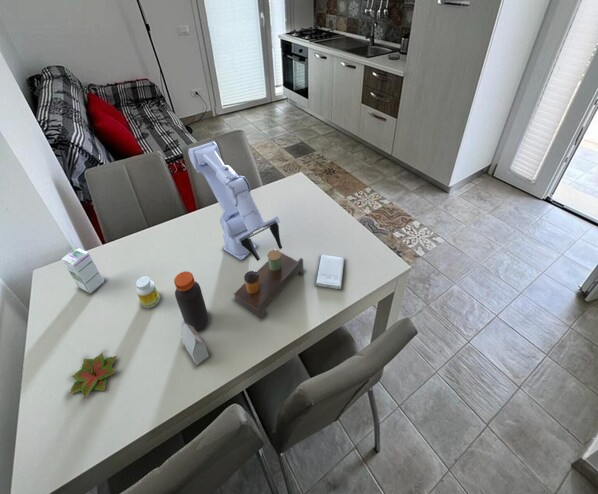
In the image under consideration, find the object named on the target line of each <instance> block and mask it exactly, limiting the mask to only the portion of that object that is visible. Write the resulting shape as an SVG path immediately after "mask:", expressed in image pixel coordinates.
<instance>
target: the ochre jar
mask: <svg viewBox="0 0 598 494" xmlns="http://www.w3.org/2000/svg"><path fill="white" fill-rule="evenodd" d="M243 280H244V284H246V290H247V292H248V293H250V294H254V293H257V292H258V291H259V290H260V282H259V274H258V273H257V271H255V270H249V271H247V272H246V273H245V274H244V276H243Z"/></svg>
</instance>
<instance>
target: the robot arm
mask: <svg viewBox="0 0 598 494" xmlns="http://www.w3.org/2000/svg"><path fill="white" fill-rule="evenodd" d="M220 152H221V151H220V148H219V146H218V144H217V142H215V141H214V140H213V141H210V142H208V143H204V144H201V145H198V146H195V147H192V148H191V147H190V148H189V149H188V152H187V154H188V157H189V160H190V162H191V165H192V167H193V168H194V170H195V171H196V173H197V174H202V175H203V177H204V178H205V180H206V182H207V183H208V186H209V187H210V189H211V191H212V193H213V195H214V196H215V198H216V200H217V202H218V204H219V206H220V208H221V210H222V214H221V216H220V218H219V223H220V225H221V228H222V231H223V242H224V247H223V251H226V252H227V253H228V254H230V255H232V256H234V257H235V258H237V259H239V260H240V261H243V260H244V259H245V258H246V257H248V255H249V254H251V256H252V257H254V259H255V260H256V262H259V261H260V260H261V258H260V255H259V254H258V252H257V250H256V248H257V246H256V245H255V244H254V243H253V241H252V239H251V238H252V237H254V236H256V235H258V234H260V233H262V232H264V231H266V230H267V229H269V231H270V232H271V234H272V236H273V238H274V239H275V242H276V244H277V247H278V248H279V250H281V249H283V245H282V241H281V238H280V227H279V223H281V220H280V217H279V216H275V217H273V218H272V219H269V220H267V221H266V222H265V220H264V218H263V216H262V214H261V212H260V210H259V208H258V206H257V204H256V201H255V200H254V198H253V196H252V194H251V186H250V185H251V184H250V183H249V180H248V179H247V178H246V177H245V175H244V176H243V175H241V174H240V175H238V173H237V172H236V171H235V170H234V169H233V168H232V166H230V165H228V164H225V163H224V161H223V160H222V159H221V156H220V155H221V153H220Z"/></svg>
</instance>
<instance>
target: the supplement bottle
mask: <svg viewBox="0 0 598 494" xmlns="http://www.w3.org/2000/svg"><path fill="white" fill-rule="evenodd" d="M135 286H136V288H135V292H136V295H137V297H138V299H139V301H140V303H141V305H142V307H144V308H147V309H148V308H153V307H155V306H156V305H157V304H158V303H159V301H160V294H159V291H158V289H157V287H156V284H155V282H154V281H153V280H151V279H150V277H149V276H142V277H139V278H138V279H137V280H136V282H135Z"/></svg>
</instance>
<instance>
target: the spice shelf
mask: <svg viewBox="0 0 598 494" xmlns="http://www.w3.org/2000/svg"><path fill="white" fill-rule="evenodd" d="M281 264H282V266H281V268H280V269H279V270H278V271H272V270H270V269H269V264H268V260H267V261H266V262H265V263H263V265H262V266H261V267H260V268H258V270H257V271H256V272H257V273H258V274H259V282H260V290H259V291H258V292H257V293H254V294H250V293H248V292H247V290H246V284H245V283H244V284H242V285H241V286H240V288H238V289H237V290H236V291H235V292H234V293H233V294H234V299H235V301H236V302H237V303H239V304H240V305H242V306H243V307H244V308H246V309H247V310H248V311H250V312H252V313H253V314H255V315H256V316H257V317H258V318H259V319H262V318H263V317H264V316H265V314H266V313H265V310H266V309H267V308H268V306H270V305H271V303H272V302H273V301H274V300H275V299H276V298H277V297H278V295H279V294H281V292H283V290H284V289H285V288H286V287H287V286H288V284H290V282H291V281H292V280H293V279H294V278H295V277H296V276H297V274H298V275H302V274H303V272H304V258H302V257H300V258H299V259H298V260H296V259H294V258H293V257H290V256H288V255H286V254H284V253H283V252H281Z"/></svg>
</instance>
